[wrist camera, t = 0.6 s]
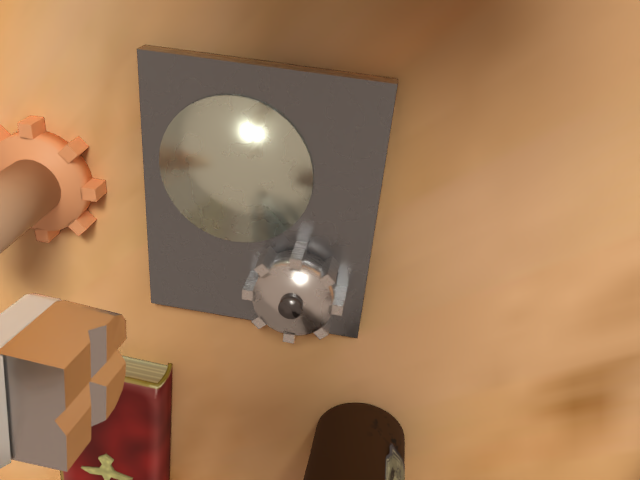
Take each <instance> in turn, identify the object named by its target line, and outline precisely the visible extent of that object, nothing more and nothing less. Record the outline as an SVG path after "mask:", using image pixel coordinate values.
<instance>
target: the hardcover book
mask: <svg viewBox="0 0 640 480" xmlns="http://www.w3.org/2000/svg"><path fill="white" fill-rule="evenodd" d="M122 357H123V358H124V360H125V362H126V375H125V380H124V385H123V390H122V392H121V395H120V397H119V400H118V402H117V404H116V407H115V408H114V410H113V411H112V412H111V414H110V415H109V417H108V418H107V420H105V421H103V422H101V423H98V424H96V425H94V426H92V427H91V441H90V442H89V444H88V445H87V446H86V448H85V449H84V450H83V452H82V453H81V454H80V456H79V457H78V458H77V460H76V461H75V462H74V464H73V465H72V466H71V468H70V469H69V470H68V471H67V472H65V471H61V470H60V475H61V480H169V475H170V434H171V393H172V364H171V363H169V364H168V366H167V365H163V364H158V363H153V362H149V361H144V360H140V359H135V358H130V357H126V356H122Z"/></svg>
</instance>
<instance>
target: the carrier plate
mask: <svg viewBox="0 0 640 480" xmlns="http://www.w3.org/2000/svg"><path fill="white" fill-rule="evenodd" d="M137 58H138V75H139V93H140V111H141V129H142V146H143V164H144V182H145V200H146V217H147V235H148V253H149V271H150V288H151V303H155V304H161V305H167V306H172V307H178V308H184V309H190V310H196V311H201V312H207V313H213V314H219V315H225V316H231V317H236V318H242V319H248V320H252V321H251V322H252V323H253V324H254V325H255V326H256V327H257V328H258V329H260V328H261V327H263V326H265V325H268V326H269V327H271V328H272V329H274V330H276V331H278V332H281V333H284V335H283V342H288V343H294V342H295V338H296V335H306V334H310V333H314V334H315V335H316V336H317V337H318V338H319V339H322V338H324V337H325V336H327V335H329V333H330V334H336V335H341V336H347V337H353V338H357V337H358V331H359V324H360V318H361V312H362V306H363V299H364V293H365V287H366V280H367V274H368V268H369V261H370V255H371V249H372V243H373V236H374V230H375V224H376V217H377V211H378V205H379V198H380V192H381V186H382V180H383V173H384V167H385V161H386V154H387V148H388V142H389V135H390V129H391V123H392V116H393V110H394V104H395V98H396V91H397V85H398V79H396V78H389V77H381V76H374V75H366V74H359V73H351V72H344V71H337V70H329V69H322V68H314V67H307V66H299V65H292V64H285V63H277V62H270V61H262V60H255V59H247V58H240V57H232V56H225V55H218V54H210V53H203V52H195V51H188V50H180V49H173V48H165V47H158V46H151V45H143V46H142V47H140V48H138V49H137Z"/></svg>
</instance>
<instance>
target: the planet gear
mask: <svg viewBox="0 0 640 480" xmlns="http://www.w3.org/2000/svg"><path fill="white" fill-rule="evenodd" d="M17 124H18V130H19V132H16V133H14V134H13V135H11V134H10V133H8V132H7V131H6V130H5V129H4V128H3V127H2V126H1V125H0V253H1V252H3V251H4V250H5V249H6V248H7V247H8V246H10V245H11V244H12V243H13V242H14V241H16V240H17V239H18V238H19V237H20V236H22V235H23V234H24V233H25V232H26V231H27V230H29V229H30V228H33V229H35V235H36V241H41V242H47V243H49V242H50V241H51V240H52V239H53V238H55V237H56V236H57V235H58V234H59V233H60V230H61V229H64V228H66V227H69V228H70V229H71V230H72V231H73V232H74V233H75V234H76V235H78V236H79V235H81V234H82V233H83V232H84V231H85V230H86V229H87V228H88V227H90V226H91V225H92V224H93V223H94V222H95V221H96V220H97V219H96V218H95V217H94V216H93V215H92V214H91V213H90V212H89V211H88V210H87V208H88V207H89V205H90V203H91V201H94V202H97V201H98V200H99V199H100V198H101V197H102V196H103V195H104V194H105V193H107V190H106V180H101V179H94V178H92V175H91V172H90V170H89V167H88V165H87V164H86V162H85V160H84V159H83V157H82V156H81V154H82V153H83V152H84V151H85V150H86V149H87V148H88V147H89V146H88V145H87V144H86V143H85V142H84V141H83V140H82V139H81V138H80V137H79V136H78V137H77V138H75V139H74V140H72V141H71V142H70V143H68V142H67V141H65V140H64V139H62V138H61V137H59V136H57V135H55V134H53V133H50V132H47V131H46V129H45V121H44V117H38V116H29V117H27V118H25V119H24V120H22V121H20V122H18V123H17Z"/></svg>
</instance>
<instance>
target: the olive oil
mask: <svg viewBox="0 0 640 480" xmlns="http://www.w3.org/2000/svg"><path fill="white" fill-rule="evenodd" d="M404 448H405V442H404V433H403V430H402V428H401V426H400V424H399V423H398V421H397V420H396V419H395V418H394V417H393V416H392V415H390V414H389V413H387V412H386V411H384V410H382V409H380V408H378V407H375V406H372V405H369V404H363V403H347V404H342V405H339V406H336V407H334V408H332V409H330V410H328V411H327V412H326V413H325V414H324V415H323V416H322V417H321V418H320V420H319V422H318V425H317V428H316V432H315V436H314V440H313V444H312V448H311V453H310V457H309V461H308V465H307V468H306V472H305V476H304V479H303V480H405V466H404Z"/></svg>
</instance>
